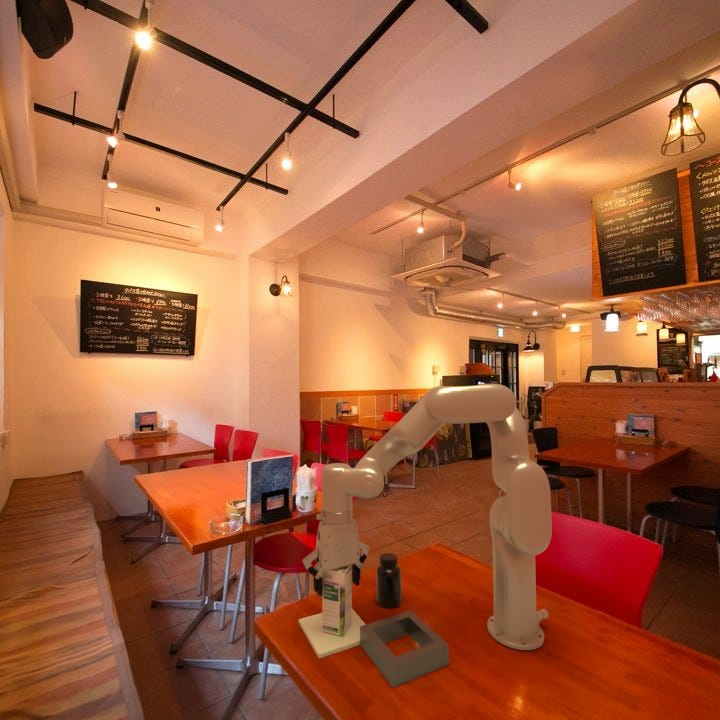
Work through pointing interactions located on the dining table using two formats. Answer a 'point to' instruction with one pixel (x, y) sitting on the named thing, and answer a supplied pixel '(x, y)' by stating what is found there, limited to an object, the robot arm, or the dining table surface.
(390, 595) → the supplement bottle
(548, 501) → the robot arm
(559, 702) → the dining table surface
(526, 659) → the dining table surface
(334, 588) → the syrup box
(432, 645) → the collar
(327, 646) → the pad
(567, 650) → the dining table surface
